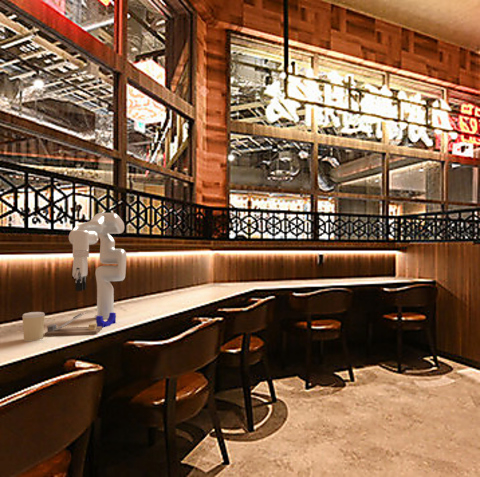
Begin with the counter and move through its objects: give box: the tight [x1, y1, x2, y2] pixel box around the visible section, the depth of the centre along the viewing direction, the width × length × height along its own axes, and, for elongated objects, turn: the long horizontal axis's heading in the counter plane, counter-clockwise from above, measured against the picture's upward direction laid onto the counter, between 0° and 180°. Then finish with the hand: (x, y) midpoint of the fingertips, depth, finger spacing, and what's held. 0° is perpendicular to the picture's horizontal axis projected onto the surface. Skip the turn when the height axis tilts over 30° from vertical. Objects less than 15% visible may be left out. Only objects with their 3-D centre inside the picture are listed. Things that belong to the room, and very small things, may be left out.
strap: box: [55, 311, 86, 331], centre depth 186 cm, size 16×5×1 cm, turn 98°
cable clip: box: [95, 312, 117, 329], centre depth 204 cm, size 12×4×6 cm, turn 159°
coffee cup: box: [21, 311, 46, 342], centre depth 173 cm, size 9×9×12 cm
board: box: [44, 322, 103, 337], centre depth 186 cm, size 12×24×4 cm, turn 97°
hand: (80, 289), depth 187 cm, fingers open, 4 cm apart
